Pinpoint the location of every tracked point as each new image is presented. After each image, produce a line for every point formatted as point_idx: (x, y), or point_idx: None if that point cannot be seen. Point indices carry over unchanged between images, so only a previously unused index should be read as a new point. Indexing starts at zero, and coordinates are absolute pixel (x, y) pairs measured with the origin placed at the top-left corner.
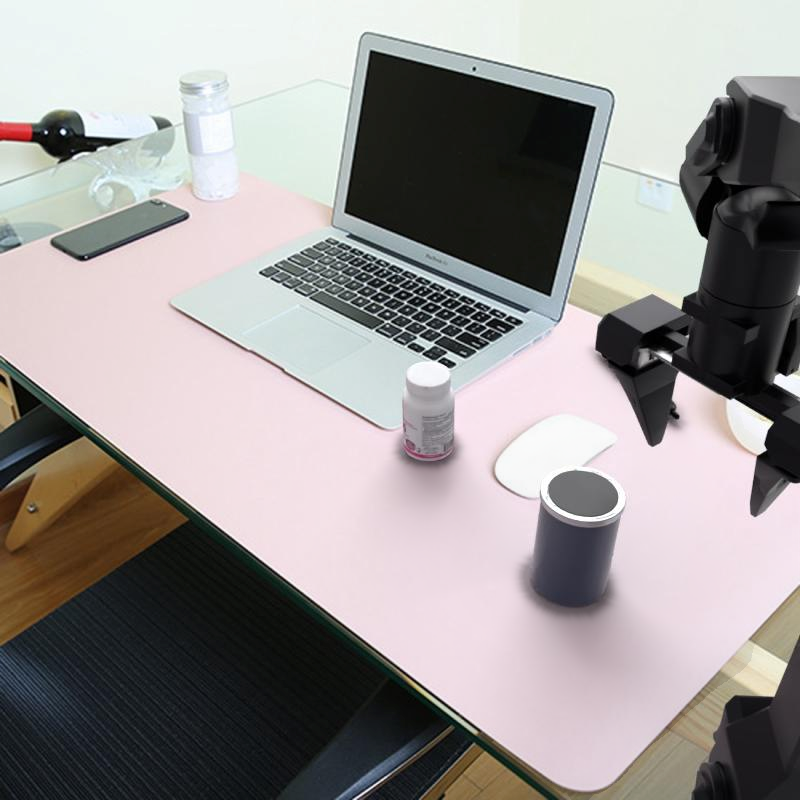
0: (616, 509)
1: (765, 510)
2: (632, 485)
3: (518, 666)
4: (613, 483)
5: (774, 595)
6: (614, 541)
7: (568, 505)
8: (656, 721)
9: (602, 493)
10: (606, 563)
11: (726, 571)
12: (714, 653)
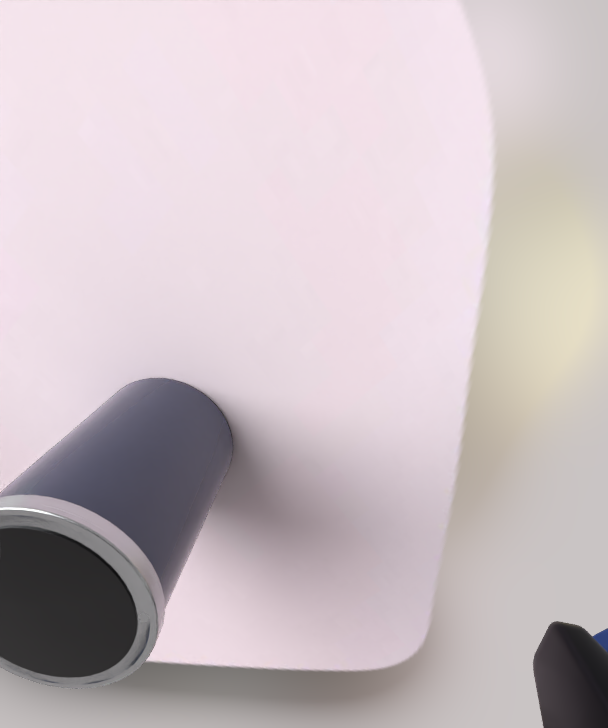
0: (141, 603)
1: (585, 631)
2: (39, 111)
3: (239, 593)
4: (56, 527)
5: (480, 195)
6: (186, 509)
7: (61, 663)
8: (435, 558)
9: (72, 582)
10: (207, 496)
11: (362, 208)
12: (446, 410)
